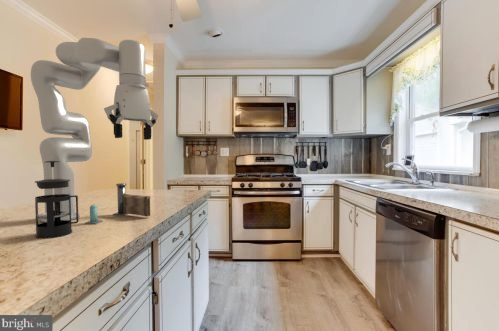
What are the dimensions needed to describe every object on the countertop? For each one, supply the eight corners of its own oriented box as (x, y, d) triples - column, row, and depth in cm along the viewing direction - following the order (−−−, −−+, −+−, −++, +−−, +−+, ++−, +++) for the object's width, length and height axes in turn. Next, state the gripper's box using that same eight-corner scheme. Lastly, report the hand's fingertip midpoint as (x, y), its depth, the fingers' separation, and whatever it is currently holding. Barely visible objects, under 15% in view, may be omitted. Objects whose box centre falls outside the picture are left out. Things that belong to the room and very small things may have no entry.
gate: (122, 213, 112) (122, 194, 112) (126, 212, 113) (125, 193, 113) (147, 216, 105) (147, 196, 105) (150, 215, 107) (150, 196, 106)
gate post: (119, 212, 116) (118, 183, 116) (130, 212, 116) (129, 183, 115) (112, 215, 111) (112, 184, 111) (124, 215, 111) (123, 184, 110)
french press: (28, 240, 78) (25, 161, 77) (37, 232, 86) (35, 160, 86) (75, 235, 83) (73, 160, 82) (80, 228, 91) (78, 160, 91)
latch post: (92, 221, 101) (91, 203, 100) (102, 221, 100) (102, 203, 100) (85, 224, 97) (84, 205, 96) (95, 224, 96) (95, 205, 96)
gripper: (149, 90, 93) (150, 140, 93) (97, 78, 79) (99, 137, 79) (163, 87, 88) (164, 139, 89) (111, 74, 74) (112, 136, 75)
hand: (133, 138), depth 84 cm, fingers open, 9 cm apart
